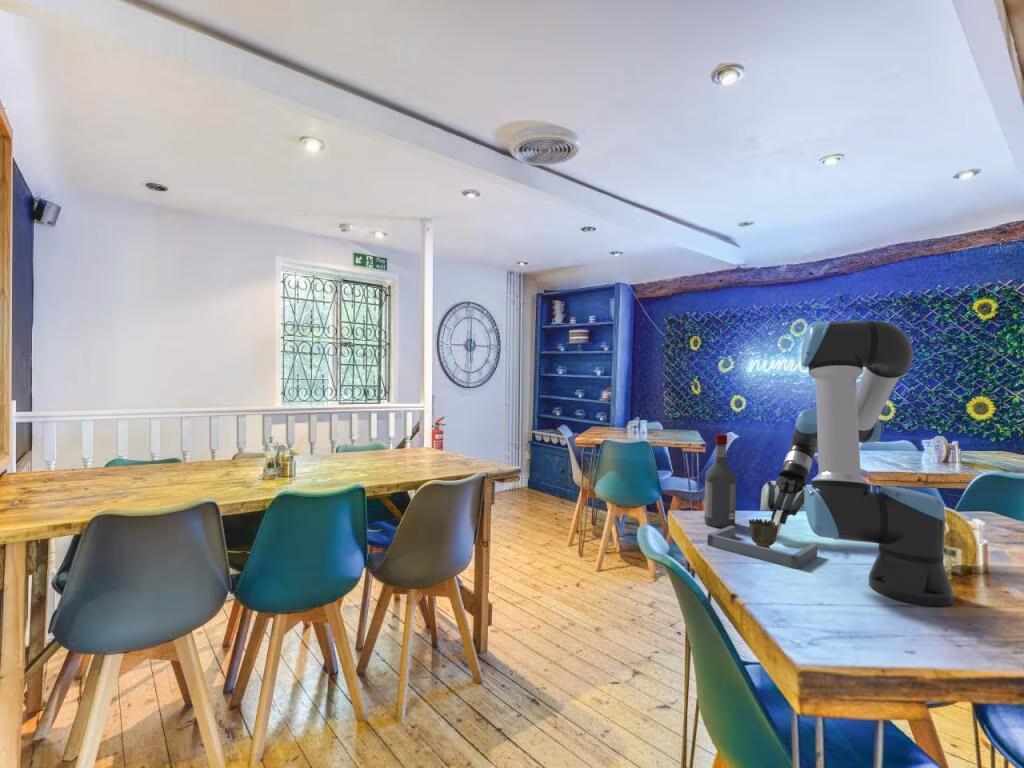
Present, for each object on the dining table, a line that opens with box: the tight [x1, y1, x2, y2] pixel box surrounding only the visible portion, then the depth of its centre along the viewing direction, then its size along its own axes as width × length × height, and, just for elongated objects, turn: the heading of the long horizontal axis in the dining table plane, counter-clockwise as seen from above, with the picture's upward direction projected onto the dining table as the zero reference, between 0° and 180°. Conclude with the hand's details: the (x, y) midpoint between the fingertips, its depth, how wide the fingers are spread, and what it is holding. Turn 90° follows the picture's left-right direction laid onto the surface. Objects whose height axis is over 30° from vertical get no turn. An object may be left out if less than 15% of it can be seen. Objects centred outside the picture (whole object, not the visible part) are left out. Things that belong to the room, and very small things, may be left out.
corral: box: [706, 525, 818, 570], centre depth 143 cm, size 24×15×3 cm, turn 42°
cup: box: [748, 518, 778, 549], centre depth 143 cm, size 8×7×8 cm
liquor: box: [703, 433, 737, 529], centre depth 169 cm, size 9×9×30 cm
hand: (774, 531), depth 150 cm, fingers closed
